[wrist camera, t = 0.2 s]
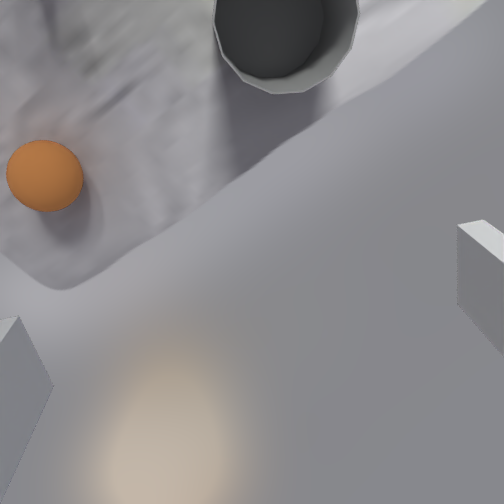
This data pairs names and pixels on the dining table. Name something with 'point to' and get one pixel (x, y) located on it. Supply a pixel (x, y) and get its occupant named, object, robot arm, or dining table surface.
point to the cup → (285, 40)
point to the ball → (44, 175)
